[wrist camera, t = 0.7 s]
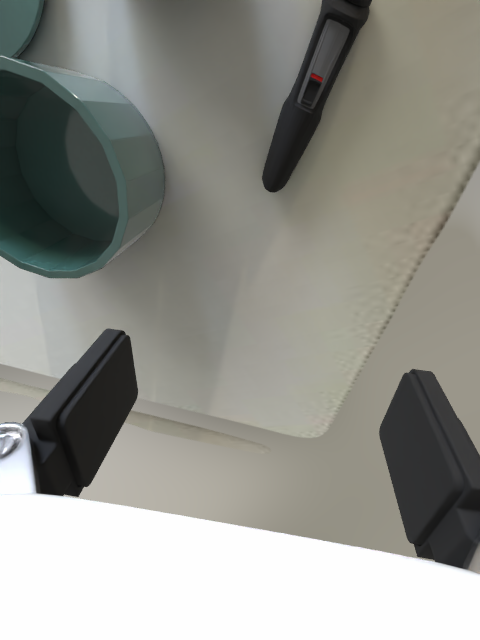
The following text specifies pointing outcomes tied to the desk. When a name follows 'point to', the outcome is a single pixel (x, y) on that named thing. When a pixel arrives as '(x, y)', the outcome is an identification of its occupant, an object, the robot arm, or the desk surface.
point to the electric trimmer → (313, 86)
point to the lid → (18, 24)
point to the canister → (72, 170)
